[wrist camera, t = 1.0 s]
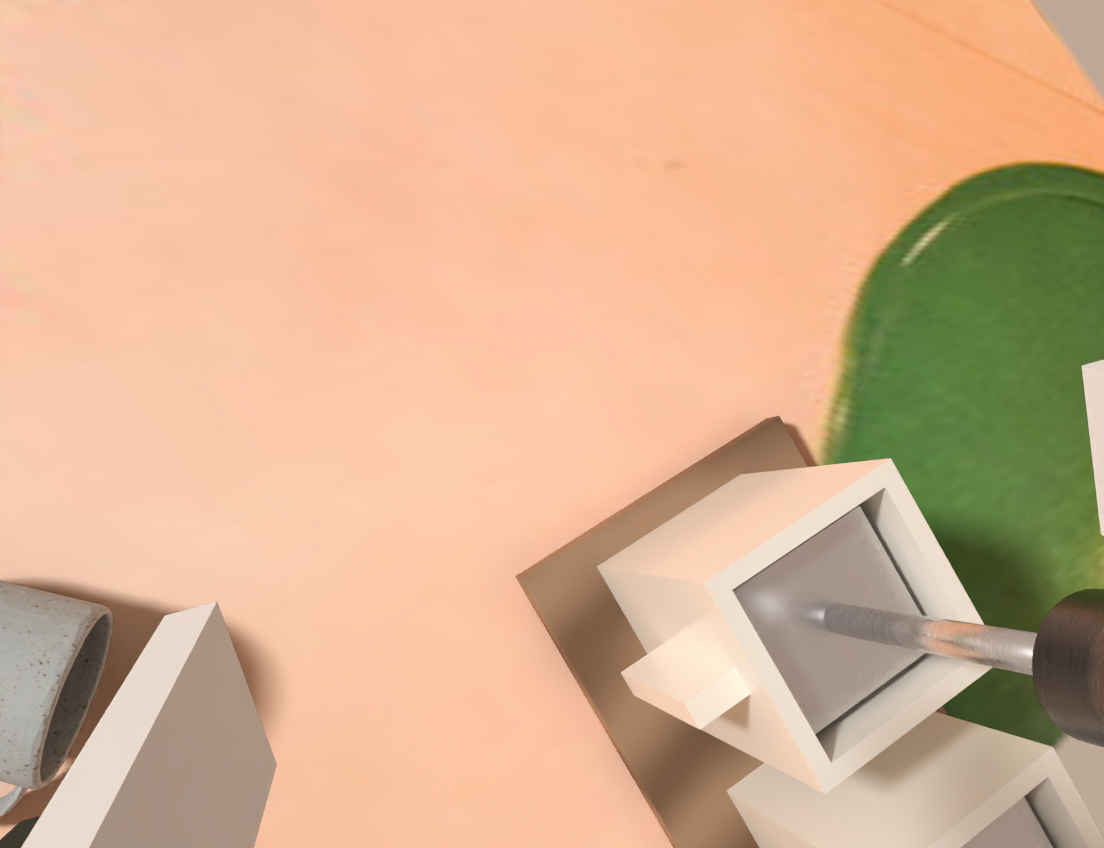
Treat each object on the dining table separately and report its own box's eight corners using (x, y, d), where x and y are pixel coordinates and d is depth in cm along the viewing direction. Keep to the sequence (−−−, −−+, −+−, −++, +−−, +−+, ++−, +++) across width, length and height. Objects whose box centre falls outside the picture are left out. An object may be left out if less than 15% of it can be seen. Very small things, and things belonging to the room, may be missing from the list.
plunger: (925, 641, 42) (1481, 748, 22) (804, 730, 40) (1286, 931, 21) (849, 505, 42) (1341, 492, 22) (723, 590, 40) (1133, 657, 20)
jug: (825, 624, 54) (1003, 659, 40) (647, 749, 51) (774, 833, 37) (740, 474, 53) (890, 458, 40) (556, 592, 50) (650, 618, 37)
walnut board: (991, 814, 56) (1009, 822, 55) (762, 999, 53) (775, 1012, 51) (766, 418, 55) (778, 415, 54) (515, 576, 52) (521, 578, 50)
